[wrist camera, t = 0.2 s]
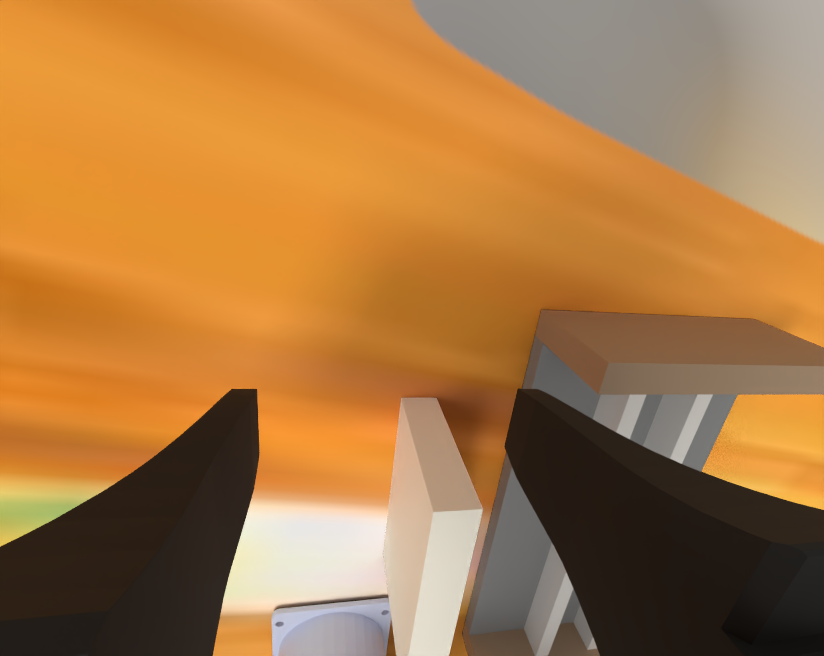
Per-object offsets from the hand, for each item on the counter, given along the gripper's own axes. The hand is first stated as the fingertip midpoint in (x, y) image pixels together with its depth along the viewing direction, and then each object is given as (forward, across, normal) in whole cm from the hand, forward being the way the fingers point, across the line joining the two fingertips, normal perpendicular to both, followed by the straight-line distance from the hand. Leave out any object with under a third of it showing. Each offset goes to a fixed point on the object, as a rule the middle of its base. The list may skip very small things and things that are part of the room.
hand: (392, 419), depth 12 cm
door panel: (+10, -3, +12) cm, 16 cm away
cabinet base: (+10, -16, +14) cm, 23 cm away
